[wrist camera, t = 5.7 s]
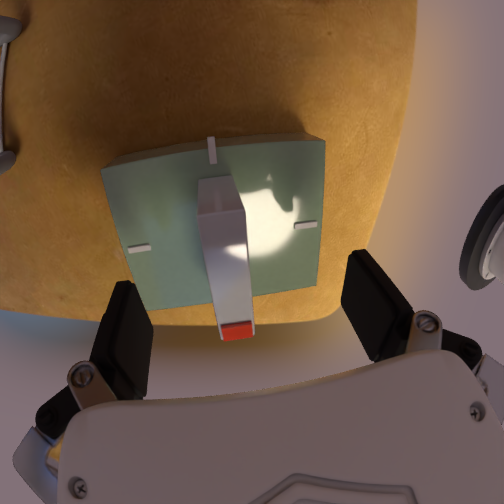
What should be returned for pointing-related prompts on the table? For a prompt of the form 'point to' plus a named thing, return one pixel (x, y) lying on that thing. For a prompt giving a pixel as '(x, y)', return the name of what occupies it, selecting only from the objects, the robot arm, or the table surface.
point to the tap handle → (226, 255)
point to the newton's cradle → (3, 32)
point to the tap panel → (185, 209)
